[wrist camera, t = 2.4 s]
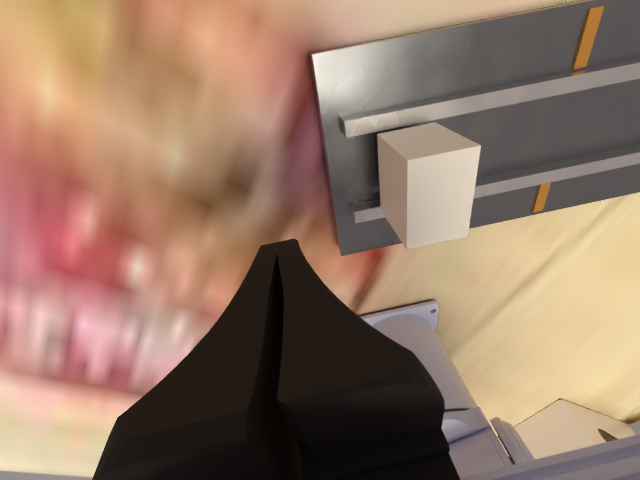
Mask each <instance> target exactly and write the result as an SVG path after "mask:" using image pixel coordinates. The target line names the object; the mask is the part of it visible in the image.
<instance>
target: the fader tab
mask: <svg viewBox="0 0 640 480" xmlns="http://www.w3.org/2000/svg"><path fill="white" fill-rule="evenodd" d="M377 141H378V170H379V183H380V205H381V211H382V213H383V214H384V216H385V217H386V219H387V220H388V222H389V223H390V225H391V226H392V228H393V229H394V231H395V233H396V234H397V236H398V237H399V239H400V240H401V242H402V243H403V245H404V246H405V248H406V249H412V248H416V247H421V246H426V245H430V244H435V243H439V242H444V241H449V240H453V239H458V238H463V237H467V236H468V231H469V224H470V217H471V211H472V204H473V197H474V190H475V184H476V177H477V170H478V163H479V157H480V150H481V145H479V144H477V143H475V142H473V141H471V140H469V139H467V138H465V137H463V136H461V135H459V134H457V133H455V132H453V131H451V130H449V129H447V128H445V127H443V126H441V125H439V124H437V123H435V122H434V123H429V124H424V125H419V126H414V127H410V128H405V129H400V130H395V131H390V132H385V133H380V134H377Z"/></svg>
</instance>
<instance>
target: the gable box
mask: <svg viewBox="0 0 640 480" xmlns="http://www.w3.org/2000/svg"><path fill="white" fill-rule="evenodd" d="M514 429H515V430H516V431H517V433H518V434H519V436H520V437H521V439H522V440H523V442H524V443H525V445H526V446H527V448H528V449H529V451H530V452H531V454H532V456H533V457H534V459H539V458H543V457H547V456H551V455H555V454H559V453H564V452H568V451H572V450H576V449H580V448H584V447H588V446H593V445H597V444H601V443H605V442H609V441H613V440H617V439H621V438H626V437H630V436H634V435H636V434H635V433H634V432H633V431H632V429H631V428H629V426H628V425H627V424H626V423H624V422H622V421H619V420H616V419H613V418H611V417H608V416H605V415H603V414H600V413H597V412H595V411H592V410H589V409H586V408H584V407H581V406H578V405H576V404H573V403H570V402H568V401H565V400H562V399H559V400H557V401H555V402H554V403H552V404H550V405H549V406H547V407H546V408H544V409H542V410H541V411H539V412H537V413H536V414H534V415H533V416H531V417H529V418H528V419H526V420H524V421H523V422H521V423H520V424H518V425H516V426H515V427H514ZM497 438H498V440H499V442H500V443H501V441H500V439H499V437H497ZM501 445H502V447H503V449H504V450H505V448H504V446H503V444H502V443H501ZM505 452H506V454H507V456H508V457H509V455H508V453H507V451H506V450H505Z"/></svg>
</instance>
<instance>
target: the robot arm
mask: <svg viewBox="0 0 640 480" xmlns="http://www.w3.org/2000/svg"><path fill="white" fill-rule="evenodd" d="M438 310H439V304H438V303H437V302H436V301H428V302H424V303H419V304H415V305H410V306H406V307H401V308H397V309H392V310H388V311H383V312H379V313H374V314H370V315H365V316H361V317H359V316H358V315H357V314H355V313H354V312H353V311H352V310H350V309H349V308H348V307H347V306H346V305H345V304H344V303H343V302H341V301H340V300H339V299H338V298H337V297H336V296H335V295H334V294H333V293H332V292H331V291H330V290H329V288H328V287H327V286H326V285H325V284H324V283H323V282H322V280H321V279H320V278H319V277H318V276H317V274H316V273H315V272H314V270H313V269H312V267H311V266H310V265H309V263H308V262H307V260H306V259H305V257H304V255H303V253H302V251H301V249H300V247H299V243H298V241H297V240H296V239H290V240H286V241H281V242H276V243H272V244H267V245H262V246H261V247H260V248H259V250H258V253H257V255H256V257H255V259H254V261H253V263H252V265H251V267H250V269H249V271H248V273H247V275H246V277H245V279H244V280H243V282H242V284H241V286H240V287H239V289H238V291H237V292H236V294H235V296H234V297H233V299H232V300H231V302H230V304H229V305H228V307H227V308H226V309H225V311H224V312H223V314H222V315H221V316H220V318H219V319H218V320H217V322H216V323H215V324H214V326H213V327H212V328H211V329H210V331H209V332H208V333H207V334H206V335H205V336H204V337H203V339H202V340H201V341H200V342H199V343H198V344H197V345H196V346H195V348H194V349H193V350H192V351H191V352H190V353H189V354H188V355H187V356H186V357H185V358H184V359H183V360H182V361H181V362H180V363H179V364H178V365H177V366H176V367H175V368H174V369H173V370H172V371H171V372H170V373H169V374H168V375H167V376H166V377H165V378H164V379H163V380H161V381H160V382H159V383H158V384H157V385H156V386H155V387H154V388H153V389H151V390H150V391H149V392H148V393H147V394H145V395H144V396H143V397H142V398H141V399H140V400H138V401H137V402H136V403H135V404H134V405H132V406H131V407H130V408H129V409H128V410H127V411H125V412H124V413H123V414H122V415H120V416H119V417H118V418H117V420H116V422H115V424H114V427H113V429H112V431H111V433H110V435H109V438H108V440H107V443H106V445H105V448H104V451H103V453H102V456H101V458H100V461H99V464H98V466H97V469H96V471H95V474H94V477H93V479H92V480H640V434H638V435H634V436H630V437H626V438H621V439H617V440H613V441H609V442H605V443H601V444H597V445H593V446H588V447H584V448H580V449H576V450H572V451H568V452H564V453H559V454H555V455H551V456H547V457H543V458H539V459H534V457H533V456H532V454H531V452H530V451H529V449H528V448H527V446H526V445H525V443H524V442H523V440H522V439H521V437H520V436H519V434H518V433H517V431H516V430H515V429H514V427H513V426H512V425H511V424H510V423H507V422H505V421H502V420H501V419H500V418H498V417H495V418H493V419H491V420H490V421H491V423H492V425H493V427H494V428H495V430H496V432H497V434H498V437H499V439H500V441H501V443H502V444H503V446H504V448H505V450H506V451H507V453H508V455H509V457H508V456H507V454H506V452H505V450H504V449H503V447H502V445H501V443H500V442H499V440H498V438H497V437H496V435H495V433H494V431H493V430H492V428H491V426H490V424H489V423H488V421H487V419H486V417H485V416H484V414H483V412H482V411H481V409H480V407H478V406H477V404H476V403H475V401H474V399H473V397H472V396H471V394H470V392H469V390H468V389H467V387H466V385H465V383H464V382H463V380H462V378H461V376H460V375H459V373H458V371H457V369H456V368H455V366H454V364H453V362H452V361H451V359H450V357H449V355H448V354H447V352H446V350H445V348H444V347H443V345H442V343H441V341H440V340H439V338H438V336H437V334H436V330H437V320H438Z"/></svg>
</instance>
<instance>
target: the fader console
mask: <svg viewBox="0 0 640 480" xmlns="http://www.w3.org/2000/svg"><path fill="white" fill-rule="evenodd" d="M309 60H310V66H311V73H312V79H313V86H314V93H315V99H316V106H317V112H318V119H319V126H320V132H321V139H322V145H323V152H324V159H325V165H326V172H327V179H328V185H329V192H330V198H331V205H332V212H333V218H334V225H335V231H336V238H337V244H338V247H339V250H340V253H341V256H343V255H348V254H353V253H357V252H362V251H367V250H371V249H376V248H381V247H385V246H390V245H395V244H399V243H402V242H401V240H400V239H399V237H398V236H397V234H396V233H395V231H394V229H393V228H392V226H391V225H390V223H389V222H388V220H387V219H386V217H385V216H384V214H383V213H382V211H381V205H380V183H379V170H378V141H377V134H380V133H385V132H390V131H395V130H400V129H405V128H410V127H414V126H419V125H424V124H429V123H434V122H435V123H437V124H439V125H441V126H443V127H445V128H447V129H449V130H451V131H453V132H455V133H457V134H459V135H461V136H463V137H465V138H467V139H469V140H471V141H473V142H475V143H477V144H479V145H481V150H480V157H479V163H478V170H477V177H476V184H475V190H474V197H473V204H472V211H471V217H470V224H469V228H474V227H479V226H483V225H488V224H493V223H497V222H502V221H507V220H511V219H516V218H521V217H525V216H530V215H535V214H539V213H544V212H549V211H553V210H558V209H563V208H567V207H572V206H577V205H581V204H586V203H591V202H595V201H600V200H605V199H609V198H614V197H619V196H623V195H628V194H633V193H637V192H640V0H583V1H578V2H572V3H567V4H562V5H557V6H552V7H546V8H541V9H536V10H531V11H526V12H520V13H515V14H510V15H505V16H500V17H494V18H489V19H484V20H479V21H474V22H468V23H463V24H458V25H453V26H448V27H442V28H437V29H432V30H427V31H421V32H416V33H411V34H406V35H401V36H395V37H390V38H385V39H380V40H375V41H369V42H364V43H359V44H354V45H349V46H343V47H338V48H333V49H328V50H323V51H317V52H312V53H309Z"/></svg>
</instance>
